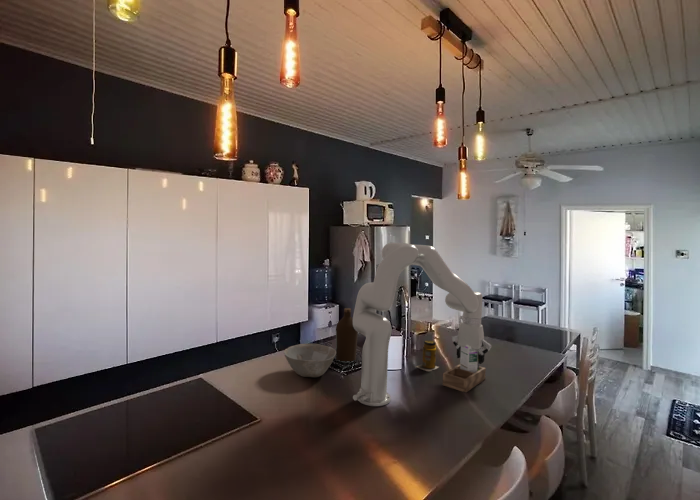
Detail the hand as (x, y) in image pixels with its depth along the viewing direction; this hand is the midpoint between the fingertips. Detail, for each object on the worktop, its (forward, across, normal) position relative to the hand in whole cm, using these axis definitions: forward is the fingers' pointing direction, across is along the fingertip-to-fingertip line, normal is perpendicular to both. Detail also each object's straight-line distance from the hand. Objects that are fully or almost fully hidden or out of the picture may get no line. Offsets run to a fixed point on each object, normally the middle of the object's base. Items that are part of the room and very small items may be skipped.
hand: (469, 360), depth 162 cm
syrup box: (+7, 0, 0) cm, 8 cm away
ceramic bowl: (+9, -51, -46) cm, 69 cm away
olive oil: (+8, -52, -22) cm, 57 cm away
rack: (+8, 0, -4) cm, 9 cm away
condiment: (+9, -20, 0) cm, 22 cm away
